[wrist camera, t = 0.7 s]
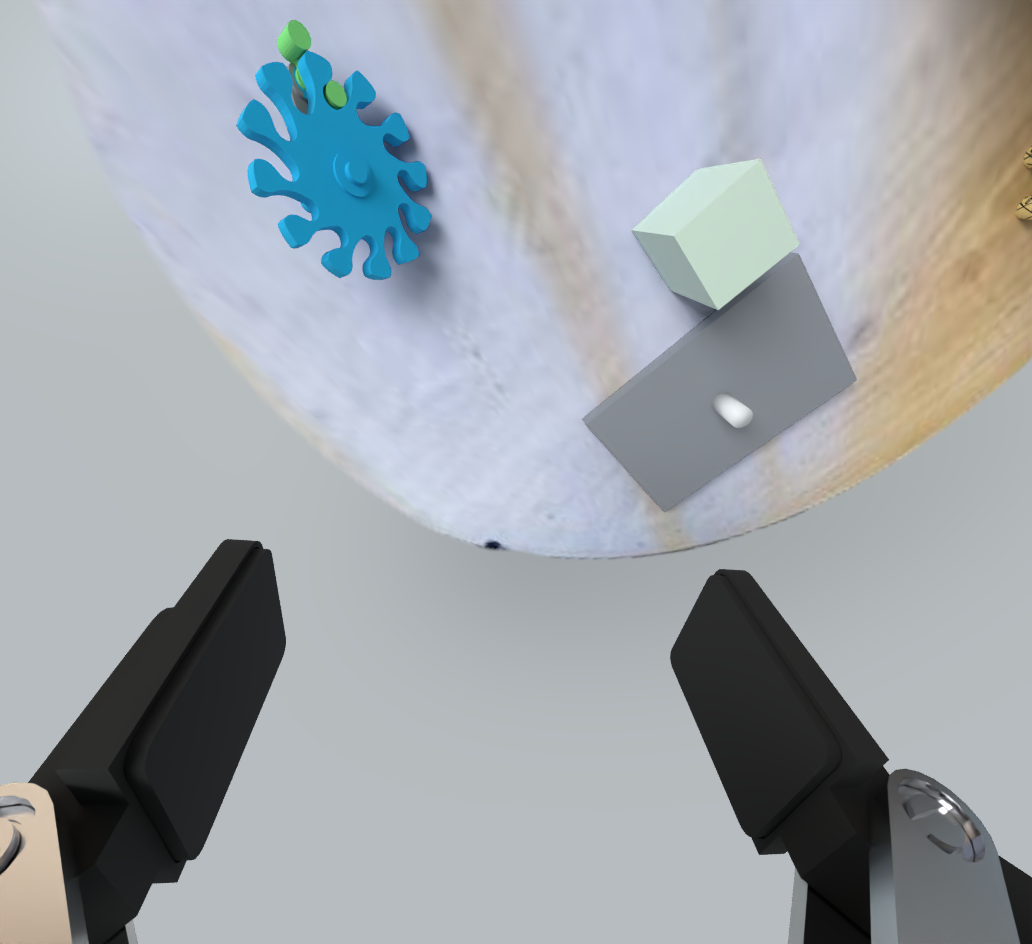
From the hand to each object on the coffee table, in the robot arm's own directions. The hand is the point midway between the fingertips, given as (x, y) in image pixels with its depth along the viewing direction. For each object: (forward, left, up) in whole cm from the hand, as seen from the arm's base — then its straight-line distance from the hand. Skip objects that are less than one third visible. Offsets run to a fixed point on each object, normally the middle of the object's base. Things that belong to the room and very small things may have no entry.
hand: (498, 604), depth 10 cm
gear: (-1, -11, -26) cm, 28 cm away
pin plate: (-10, +17, -25) cm, 32 cm away
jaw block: (-14, +5, -25) cm, 29 cm away
